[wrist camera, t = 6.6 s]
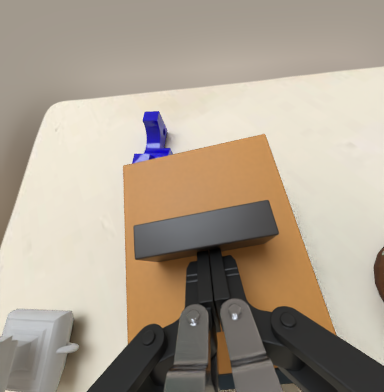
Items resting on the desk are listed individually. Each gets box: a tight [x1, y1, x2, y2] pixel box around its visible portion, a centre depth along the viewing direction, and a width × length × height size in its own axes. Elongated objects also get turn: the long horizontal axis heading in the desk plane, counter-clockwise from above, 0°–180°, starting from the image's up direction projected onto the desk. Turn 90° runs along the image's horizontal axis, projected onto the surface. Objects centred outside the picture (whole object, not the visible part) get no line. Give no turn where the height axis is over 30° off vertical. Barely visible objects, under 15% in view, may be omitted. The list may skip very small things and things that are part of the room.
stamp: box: [0, 309, 79, 392], centre depth 18 cm, size 9×7×8 cm
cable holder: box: [132, 111, 173, 164], centre depth 27 cm, size 8×4×4 cm, turn 173°
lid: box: [123, 134, 337, 374], centre depth 13 cm, size 16×13×5 cm
